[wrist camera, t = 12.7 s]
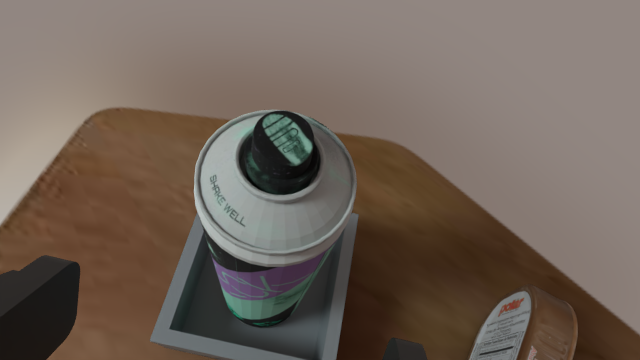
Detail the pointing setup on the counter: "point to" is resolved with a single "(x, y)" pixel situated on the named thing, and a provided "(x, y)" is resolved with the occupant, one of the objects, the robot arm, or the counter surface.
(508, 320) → the tin
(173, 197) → the counter surface
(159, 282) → the counter surface
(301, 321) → the box
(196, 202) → the spray can
